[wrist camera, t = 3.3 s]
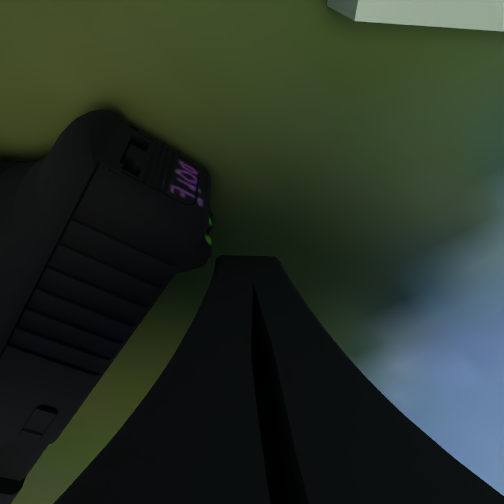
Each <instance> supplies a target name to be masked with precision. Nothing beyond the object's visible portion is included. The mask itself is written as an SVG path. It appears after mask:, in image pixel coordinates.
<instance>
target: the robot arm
mask: <svg viewBox="0 0 504 504" xmlns="http://www.w3.org/2000/svg"><path fill="white" fill-rule="evenodd" d="M54 504H504V496H503V495H501V494H500V493H499V492H497V491H496V490H495V489H494V488H492V487H491V486H490V485H488V484H487V483H486V482H484V481H483V480H482V479H481V478H479V477H478V476H477V475H475V474H474V473H473V472H471V471H470V470H469V469H468V468H466V467H465V466H464V465H462V464H461V463H460V462H459V461H457V460H456V459H455V458H454V457H452V456H451V455H450V454H449V453H448V452H446V451H445V450H444V449H443V448H442V447H441V446H439V445H438V444H437V443H436V442H435V441H434V440H432V439H431V438H430V437H429V436H428V435H427V434H426V433H424V432H423V431H422V430H421V429H420V428H419V427H417V426H416V425H415V424H414V423H413V422H412V421H410V420H409V419H408V418H407V417H406V416H405V415H404V414H403V413H402V412H400V411H399V410H398V409H397V408H396V407H395V406H394V405H393V404H392V403H391V402H390V401H389V400H388V399H387V398H386V397H385V396H384V395H383V394H382V393H381V392H380V391H379V390H378V389H377V388H376V387H375V386H374V385H373V384H372V383H371V382H370V381H369V380H368V379H367V378H366V377H365V376H364V375H363V373H362V372H361V371H360V370H359V369H358V368H357V367H356V366H355V365H354V364H353V362H352V361H351V360H350V359H349V358H348V357H347V356H346V354H345V353H344V352H343V351H342V350H341V348H340V347H339V346H338V345H337V344H336V342H335V341H334V340H333V339H332V338H331V336H330V335H329V334H328V332H327V331H326V330H325V329H324V327H323V326H322V325H321V323H320V322H319V321H318V319H317V318H316V317H315V315H314V314H313V312H312V311H311V310H310V308H309V307H308V306H307V304H306V303H305V301H304V300H303V298H302V297H301V295H300V294H299V292H298V291H297V289H296V288H295V286H294V285H293V283H292V282H291V280H290V278H289V277H288V275H287V274H286V272H285V270H284V268H283V267H282V265H281V263H280V261H279V260H278V259H277V258H276V257H270V256H231V255H221V256H220V257H219V258H217V259H216V264H215V269H214V273H213V276H212V279H211V282H210V285H209V287H208V290H207V292H206V295H205V297H204V299H203V301H202V303H201V306H200V308H199V310H198V312H197V314H196V316H195V318H194V320H193V322H192V324H191V326H190V328H189V329H188V331H187V333H186V335H185V336H184V338H183V340H182V342H181V343H180V345H179V347H178V349H177V350H176V352H175V354H174V355H173V357H172V358H171V360H170V362H169V363H168V365H167V366H166V368H165V369H164V371H163V372H162V374H161V375H160V377H159V378H158V380H157V381H156V382H155V384H154V385H153V387H152V388H151V389H150V391H149V392H148V394H147V395H146V396H145V398H144V399H143V400H142V402H141V403H140V404H139V405H138V407H137V408H136V409H135V411H134V412H133V413H132V415H131V416H130V417H129V418H128V420H127V421H126V422H125V424H124V425H123V426H122V427H121V429H120V430H119V431H118V432H117V433H116V435H115V436H114V437H113V438H112V439H111V441H110V442H109V443H108V444H107V445H106V447H105V448H104V449H103V450H102V451H101V452H100V453H99V454H98V455H97V456H96V458H95V459H94V460H93V461H92V462H91V463H90V464H89V465H88V466H87V468H86V469H85V470H84V471H83V472H82V473H81V474H80V475H79V476H78V478H77V479H76V480H75V481H74V482H73V483H72V484H71V485H70V486H69V488H68V489H67V490H66V491H65V492H64V493H63V494H62V495H61V496H60V497H59V498H58V499H57V500H56V501H55V503H54Z"/></svg>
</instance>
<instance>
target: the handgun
mask: <svg viewBox="0 0 504 504" xmlns="http://www.w3.org/2000/svg"><path fill="white" fill-rule="evenodd" d="M122 118H123V117H122V116H120V115H118V114H116V113H114V112H112V111H107V110H96V111H91V112H88V113H86V114H84V115H82V116H80V117H78V118H76V119H75V120H74V121H73V122H72V123H71V124H70V125H69V126H68V127H67V128H66V129H65V130H64V131H63V132H62V133H61V135H60V136H59V138H58V139H57V141H56V142H55V144H54V146H53V147H52V149H51V151H50V152H49V154H48V155H47V156H45V157H44V158H43V159H41V160H36V161H31V162H26V163H20V162H8V161H0V504H11V502H12V501H13V499H14V498H15V497H16V495H17V494H18V492H19V491H20V490H21V488H22V486H23V483H24V480H25V478H26V476H27V474H28V473H29V471H30V470H31V469H32V467H33V466H34V464H35V463H36V462H37V460H38V459H39V457H40V456H41V454H42V453H43V452H44V450H45V449H46V447H47V446H48V445H49V444H52V443H53V442H55V441H56V440H57V438H58V437H59V435H60V434H61V433H62V431H63V430H64V428H65V427H66V426H67V424H68V423H69V421H70V420H71V419H72V417H73V416H74V414H75V413H76V412H77V410H78V409H79V408H80V406H81V405H82V403H83V402H84V401H85V399H86V398H87V396H88V395H89V394H90V392H91V391H92V389H93V388H94V387H95V385H96V384H97V382H98V381H99V380H100V378H101V377H102V375H103V374H104V373H105V371H106V370H107V369H108V367H109V366H110V364H111V363H112V362H113V360H114V359H115V357H116V356H117V355H118V353H119V352H120V350H121V349H122V348H123V346H124V345H125V343H126V342H127V341H128V339H129V338H130V336H131V335H132V334H133V332H134V331H135V330H136V328H137V327H138V325H139V324H140V323H141V321H142V320H143V318H144V317H145V316H146V314H147V313H148V311H149V310H150V309H151V307H152V306H153V304H154V303H155V302H156V300H157V299H158V298H159V296H160V295H161V293H162V292H163V291H164V289H165V288H166V286H167V285H168V284H169V282H170V281H171V279H172V278H173V277H174V275H175V274H176V273H180V272H184V271H187V270H191V269H195V268H198V267H202V266H204V264H205V263H206V262H207V260H208V259H209V258H210V256H211V254H212V239H211V238H210V237H209V236H208V233H209V232H210V230H211V229H212V227H213V214H212V212H211V211H210V189H211V177H210V174H209V173H208V171H207V170H206V169H205V168H203V167H202V166H200V165H198V164H196V163H195V162H193V161H191V160H189V159H188V158H186V157H184V156H182V155H181V154H179V153H177V152H175V151H174V150H172V149H170V148H168V147H167V146H165V145H163V144H162V143H160V142H158V141H156V140H155V139H153V138H151V137H149V136H148V135H146V134H144V133H142V132H141V131H139V130H137V129H135V128H134V127H132V126H130V125H128V124H127V123H125V122H121V120H122Z"/></svg>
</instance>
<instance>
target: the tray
mask: <svg viewBox="0 0 504 504" xmlns="http://www.w3.org/2000/svg"><path fill="white" fill-rule="evenodd" d="M327 6H328V7H330V8H331V9H333V10H335V11H337V12H339V13H341V14H342V15H344V16H346V17H348V18H350V19H352V20H354V21H361V22H375V23H390V24H404V25H418V26H433V27H447V28H462V29H476V30H490V31H504V0H328V1H327Z"/></svg>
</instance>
